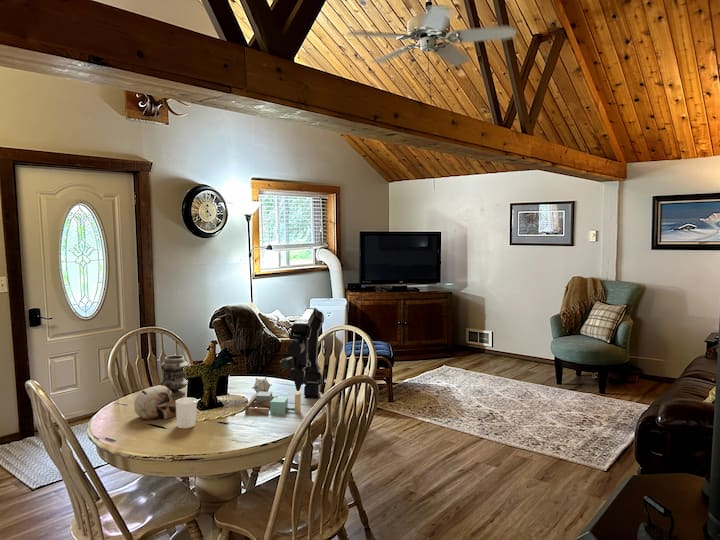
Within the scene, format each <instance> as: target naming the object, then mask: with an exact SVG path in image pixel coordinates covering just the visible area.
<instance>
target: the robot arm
mask: <svg viewBox="0 0 720 540" xmlns="http://www.w3.org/2000/svg"><path fill="white" fill-rule="evenodd" d="M324 321H325V316H324V313H323V312H322V311H320V310H318V308H316V307H305V310H304V313H303V315H302V316H301V317H300V319H296V320H295V321H294V322H293V324H291V327H290V331H289V332H290V333H289V336H288V337H289V338H288V339H289V340H292V341H291V343H290V344H289V345H288V346H287V353H288V354H289V355H290V356H289V357H284V358H282V359H281V360H280V361H279V366H280V367H281V368H282V370H284V369H286V368H289V367H291V369H290V370H288V377H290V378H291V379H293V382H294V386H295V389H296V391H298V392H300V390H301V387H302V386H303V385H304V389H303V390H304V391H303V396H304V398H305V397H308V398H307V399H319V397H320V395H321V393H320V386H321V385H324V384H323V382H324V380H323V375H322V372H321V367H320V365H319V364H318V356H319V354H318V353H319V352H318V350H319V333H320V330H321V328H322V327H323V324H324Z"/></svg>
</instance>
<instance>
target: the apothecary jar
mask: <svg viewBox="0 0 720 540" xmlns="http://www.w3.org/2000/svg"><path fill="white" fill-rule="evenodd" d="M188 365H189V363H188V361H186V359H185V356H184V355H182V354H171V355H167V356H165V357H164V361H162V363H161V365H160V367H161V369H162V370H163V377H162V380H161V381H160V384H159V385H162V386H165V387H167V388H168V389H169V390H170V391H172V393H173V395H174V397H175V399H177V398H182V397H183V396H185V395H186V392H185V391H182V389H184V388H186V387H187V385H188V384H187V381H188V379H187V378H186V377H185V378H186V379H187V380H186V379H185V378H184V372H183V368H184V367H185V366H187V367H188Z"/></svg>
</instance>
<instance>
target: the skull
mask: <svg viewBox="0 0 720 540" xmlns="http://www.w3.org/2000/svg"><path fill="white" fill-rule="evenodd" d="M176 400H178V399H177V398H175V397H174V395H173V393H172V391H170V390H169V389H168V388H167V387H165V386H162V385H160V384H159V385H154V386H149V387H146V388H144V389H143V390H141V391H140V392H139V393H138V394H137V396H136V397H135V400H134V404H133V405H134V406H133V407H134V412H135V414H136V415H137V416H138V417H140V418H141V419H142V420H155V419H158V418H163V419H165V420H167V419H170V418H175V417H176Z"/></svg>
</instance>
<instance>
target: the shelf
mask: <svg viewBox="0 0 720 540" xmlns="http://www.w3.org/2000/svg"><path fill="white" fill-rule="evenodd" d="M257 394H258V393H257V392H256V393H255V394H254V395H253V396H252V398H251V399H250V400H249V401H248V402H247V403H246V405H245V406H244V411H245V412H244V413H245V415H259V416H261V415H263V416H266V415H267V416H268V415H270V402H264V401H256V395H257ZM274 397H277V398H279V396H278V395H272V399H273V398H274ZM255 407H257V408H255Z"/></svg>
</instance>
